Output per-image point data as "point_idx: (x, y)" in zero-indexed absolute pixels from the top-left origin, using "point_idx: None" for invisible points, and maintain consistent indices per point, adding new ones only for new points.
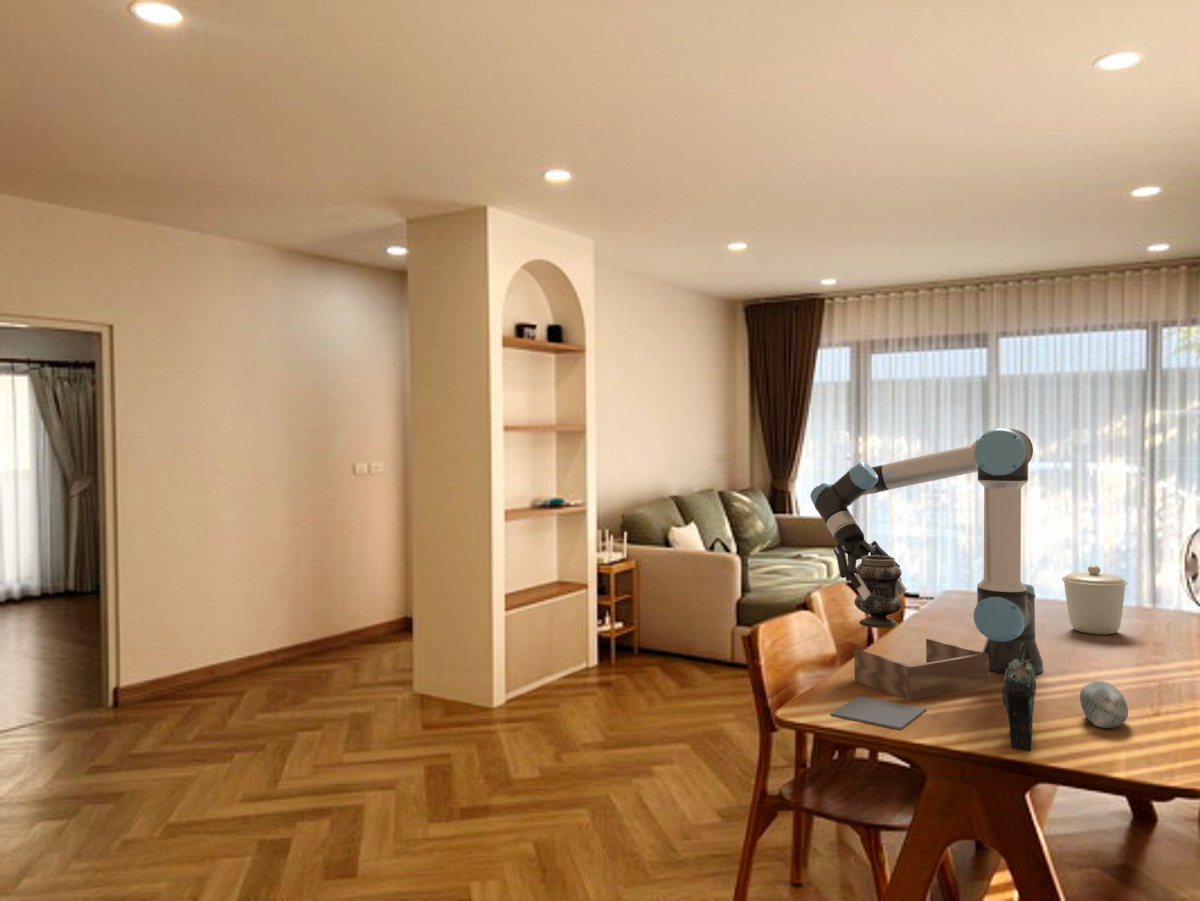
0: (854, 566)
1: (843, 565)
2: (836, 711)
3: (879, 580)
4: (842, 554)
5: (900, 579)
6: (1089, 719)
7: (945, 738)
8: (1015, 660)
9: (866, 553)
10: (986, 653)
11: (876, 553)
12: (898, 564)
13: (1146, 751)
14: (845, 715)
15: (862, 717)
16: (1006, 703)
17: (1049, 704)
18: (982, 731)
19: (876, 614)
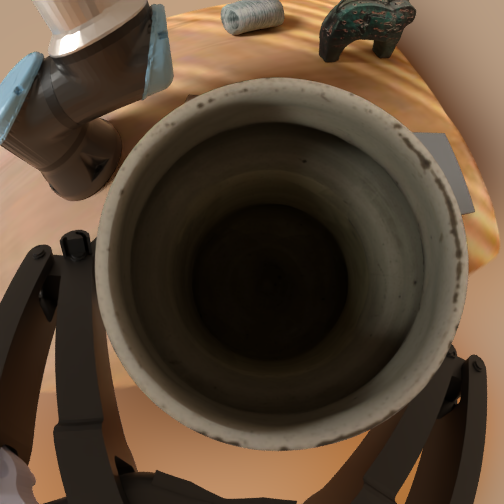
0: (427, 388)
1: (485, 405)
2: (468, 209)
3: (374, 196)
4: (469, 496)
5: None
6: (281, 23)
7: (422, 98)
8: (373, 4)
9: (167, 490)
10: (189, 97)
11: (20, 426)
12: (26, 255)
13: (302, 8)
14: (468, 194)
15: (458, 176)
16: (398, 35)
17: (232, 60)
18: (379, 78)
19: (316, 260)
